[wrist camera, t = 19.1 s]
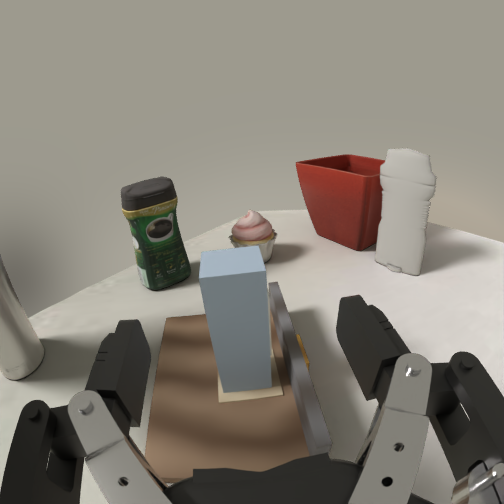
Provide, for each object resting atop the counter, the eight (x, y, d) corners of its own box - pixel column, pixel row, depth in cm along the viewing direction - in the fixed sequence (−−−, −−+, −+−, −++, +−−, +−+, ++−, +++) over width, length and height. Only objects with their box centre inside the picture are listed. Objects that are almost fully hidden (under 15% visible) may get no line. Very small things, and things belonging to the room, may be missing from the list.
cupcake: (232, 249, 63) (228, 203, 58) (277, 246, 62) (275, 200, 58) (228, 270, 54) (222, 219, 50) (279, 268, 54) (277, 216, 49)
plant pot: (362, 264, 53) (368, 175, 45) (295, 234, 67) (293, 161, 60) (407, 236, 62) (414, 166, 55) (346, 215, 76) (347, 154, 69)
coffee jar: (180, 262, 59) (164, 172, 51) (197, 277, 53) (181, 175, 45) (136, 278, 54) (114, 185, 46) (148, 296, 48) (123, 190, 40)
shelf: (168, 325, 41) (159, 294, 38) (282, 313, 42) (281, 281, 39) (148, 481, 19) (125, 459, 17) (330, 465, 20) (339, 441, 18)
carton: (223, 392, 28) (198, 278, 22) (222, 362, 32) (201, 251, 26) (273, 387, 28) (268, 270, 22) (267, 357, 32) (260, 245, 26)
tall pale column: (368, 262, 53) (375, 145, 43) (377, 255, 55) (385, 144, 46) (417, 280, 46) (435, 154, 36) (424, 271, 48) (440, 153, 38)
